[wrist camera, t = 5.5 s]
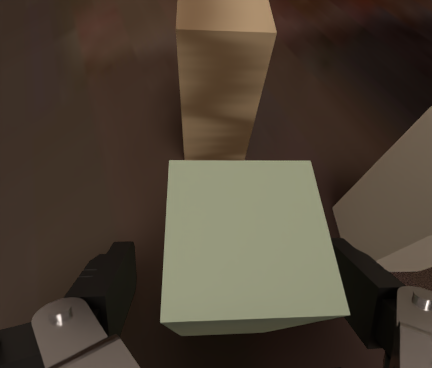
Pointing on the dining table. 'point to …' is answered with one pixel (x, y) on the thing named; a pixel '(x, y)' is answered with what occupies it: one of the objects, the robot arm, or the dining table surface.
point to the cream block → (394, 204)
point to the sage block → (246, 249)
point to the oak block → (221, 73)
